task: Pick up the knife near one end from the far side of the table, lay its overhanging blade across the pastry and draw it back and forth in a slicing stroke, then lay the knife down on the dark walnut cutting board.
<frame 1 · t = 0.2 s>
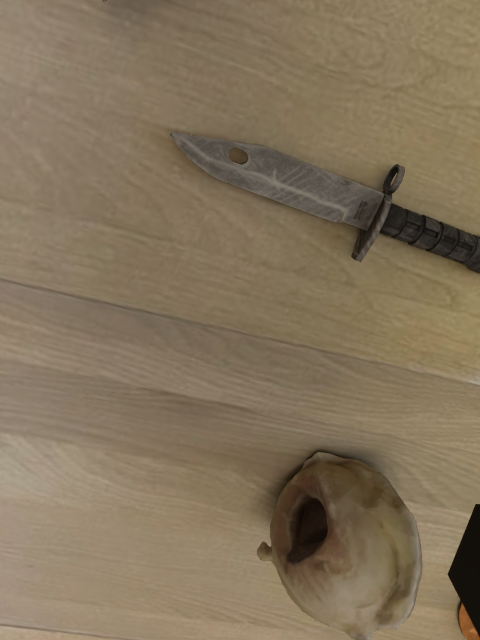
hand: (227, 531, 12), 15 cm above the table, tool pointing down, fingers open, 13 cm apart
beige rounded shell: (321, 488, 31), on the table
knife: (342, 199, 23), on the table
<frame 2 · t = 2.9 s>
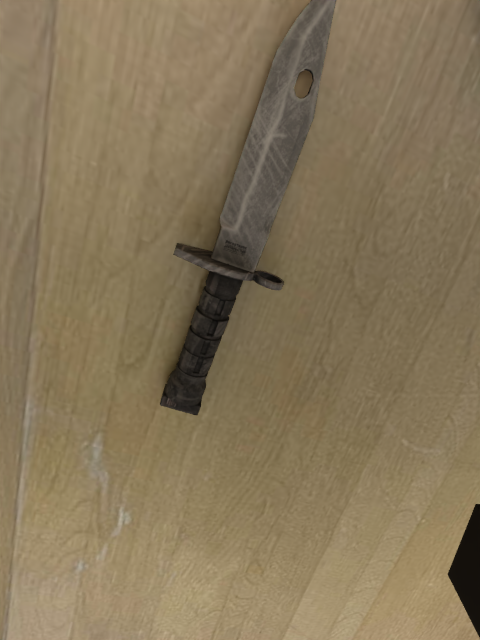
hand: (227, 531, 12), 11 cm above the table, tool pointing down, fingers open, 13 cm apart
knife: (241, 227, 20), on the table
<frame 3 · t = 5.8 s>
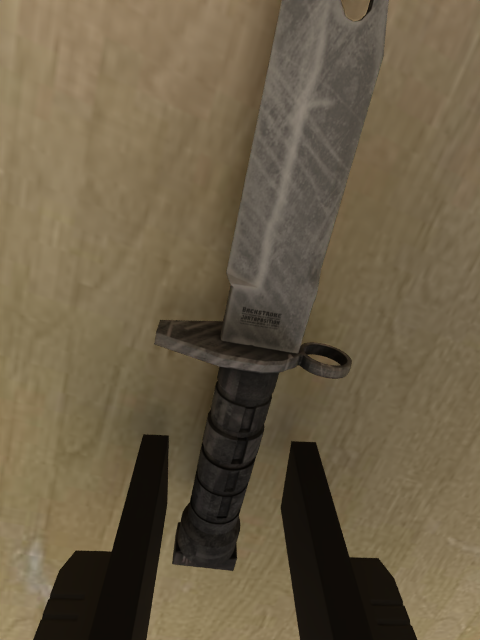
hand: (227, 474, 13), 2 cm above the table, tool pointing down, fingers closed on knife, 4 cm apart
knife: (265, 274, 11), point 2 cm above the table, touching gripper
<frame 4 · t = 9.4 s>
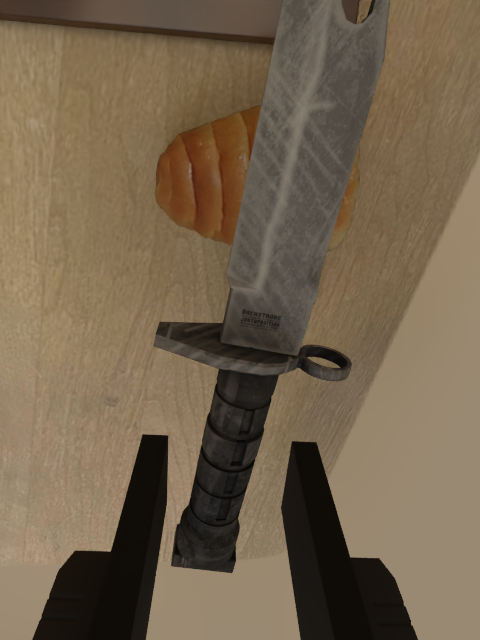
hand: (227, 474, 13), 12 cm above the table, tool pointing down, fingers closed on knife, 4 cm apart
knife: (265, 276, 11), point 12 cm above the table, touching gripper
pastry: (266, 183, 22), on the table
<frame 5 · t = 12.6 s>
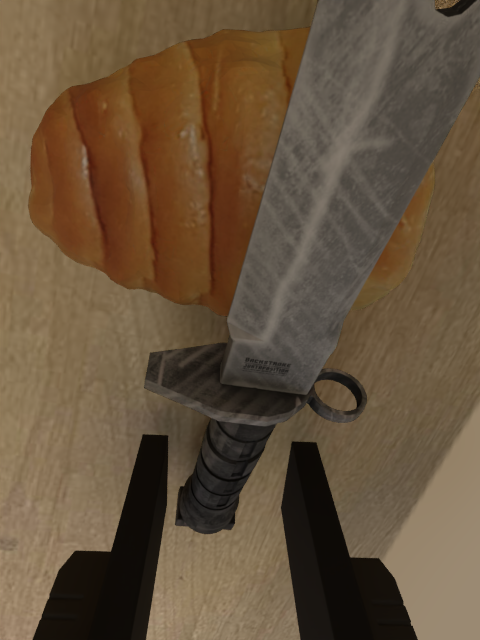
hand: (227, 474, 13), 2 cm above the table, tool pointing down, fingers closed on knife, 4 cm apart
knife: (276, 296, 9), point 4 cm above the table, touching gripper
pastry: (248, 188, 12), on the table
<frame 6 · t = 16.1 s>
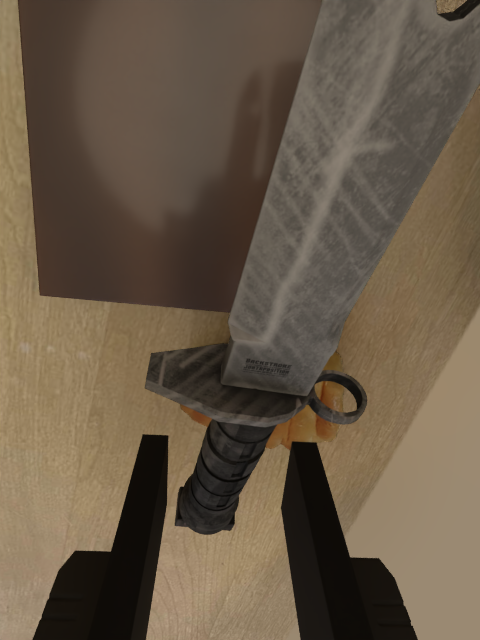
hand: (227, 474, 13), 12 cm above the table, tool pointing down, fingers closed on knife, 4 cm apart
knife: (277, 297, 9), point 14 cm above the table, touching gripper
cutting board: (212, 55, 20), on the table
pastry: (269, 382, 27), on the table
when the fingers open (2 cm above the table, at t = 19.0 s): knife drops 2 cm, resting on cutting board.
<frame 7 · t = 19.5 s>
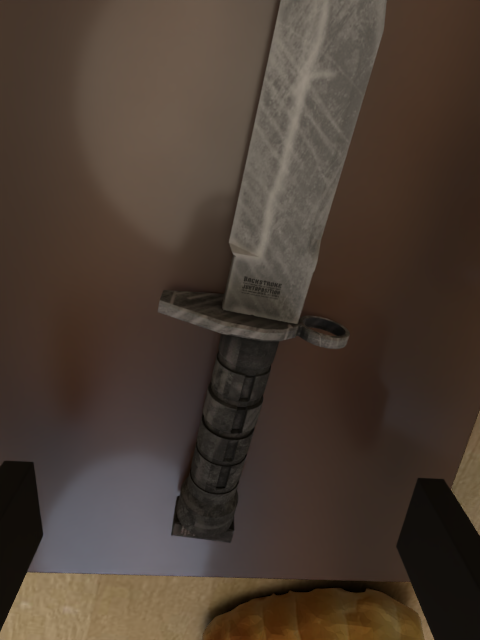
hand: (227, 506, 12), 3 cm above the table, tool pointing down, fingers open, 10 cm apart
knife: (267, 248, 12), point 1 cm above the table, touching cutting board
cutting board: (241, 269, 13), on the table
pastry: (318, 624, 20), on the table
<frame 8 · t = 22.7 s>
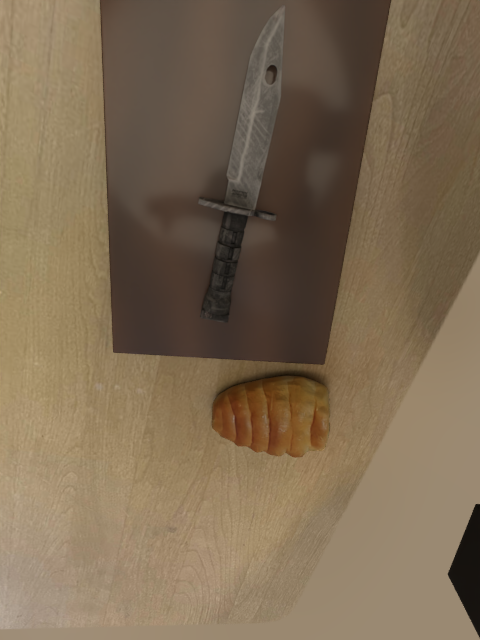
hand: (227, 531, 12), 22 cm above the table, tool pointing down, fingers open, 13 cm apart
knife: (242, 180, 28), point 1 cm above the table, touching cutting board
cutting board: (232, 193, 29), on the table
pastry: (276, 406, 36), on the table
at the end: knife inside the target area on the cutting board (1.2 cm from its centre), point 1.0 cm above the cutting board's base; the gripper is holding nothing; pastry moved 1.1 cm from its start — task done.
